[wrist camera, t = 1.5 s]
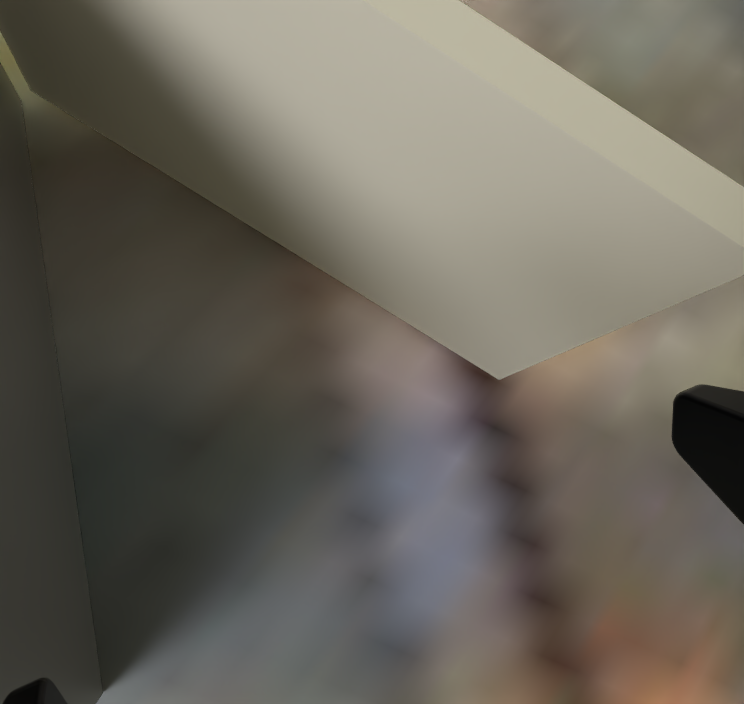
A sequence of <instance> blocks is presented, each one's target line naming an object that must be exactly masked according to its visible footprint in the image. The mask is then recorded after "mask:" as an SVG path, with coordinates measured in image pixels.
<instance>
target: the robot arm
mask: <svg viewBox="0 0 744 704" xmlns="http://www.w3.org/2000/svg"><path fill="white" fill-rule="evenodd" d="M672 441H673V445H674V447H675V449H676V450H677V452H678V453H679V455H680V456H681V457H682V458H683V459H684V460H685V461H686V462H687V464H688V465H689V466H690V467H691V468H692V469H693V470H694V471H695V472H696V473H697V474H698V476H699V477H700V478H701V479H702V480H703V481H704V482H705V483H706V484H707V485H708V486H709V488H710V489H711V490H712V491H713V492H714V493H715V494H716V495H717V496H718V497H719V498H720V499H721V501H722V502H723V503H724V504H725V505H726V506H727V507H728V508H729V509H730V510H731V511H732V513H733V514H734V515H735V516H736V517H737V518H738V519H739V520H740V521H741V522H742V523H743V524H744V392H743V391H738V390H732V389H727V388H721V387H715V386H710V385H696V386H694V387H692V388H689V389H687V390H685V391H683V392H680V393H679V394H677V395H676V397H675V399H674V402H673V419H672ZM2 704H68V703H67V702H66V700H65V699H64V697H63V696H62V694H61V693H60V691H59V690H58V688H57V687H56V685H55V684H54V683H53V681H51V680H50V679H49V678H46V677H43V678H39V679H37V680H34V681H32V682H30V683H28V684H26V685H23V686H21V687H19V688H17V689H14V690H13V691H11V692H10V693H9V694H8V695H7V697H6V698H5V700H4V701H3V703H2Z"/></svg>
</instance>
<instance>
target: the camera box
mask: <svg viewBox="0 0 744 704" xmlns="http://www.w3.org/2000/svg"><path fill="white" fill-rule="evenodd" d="M43 677H46V678H49V679H50V680H51V681H53V683H54V684H55V685H56V687H57V688H58V690H59V691H60V693H61V694H62V696H63V697H64V699H65V700H66V702H67V703H68V704H96V703H97V701H98V700H99V698H100V697H101V695H102V694H103V690H102V683H101V675H100V668H99V661H98V653H97V646H96V639H95V632H94V624H93V617H92V610H91V603H90V595H89V588H88V581H87V574H86V566H85V559H84V552H83V544H82V537H81V530H80V523H79V515H78V508H77V501H76V494H75V486H74V479H73V472H72V465H71V457H70V450H69V443H68V436H67V428H66V421H65V414H64V406H63V399H62V392H61V385H60V377H59V370H58V363H57V356H56V348H55V341H54V334H53V327H52V319H51V312H50V305H49V298H48V290H47V283H46V276H45V268H44V261H43V254H42V247H41V239H40V232H39V225H38V218H37V210H36V203H35V196H34V189H33V181H32V174H31V167H30V159H29V152H28V145H27V138H26V130H25V123H24V116H23V109H22V101H21V99H20V97H19V96H18V94H17V92H16V90H15V88H14V86H13V85H12V83H11V81H10V79H9V77H8V76H7V74H6V72H5V70H4V68H3V66H2V65H1V63H0V704H2V703H3V701H4V700H5V698H6V697H7V695H8V694H9V693H10V692H11V691H13V690H14V689H17V688H19V687H21V686H23V685H26V684H28V683H30V682H32V681H34V680H37V679H39V678H43Z"/></svg>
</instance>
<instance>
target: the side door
mask: <svg viewBox="0 0 744 704" xmlns="http://www.w3.org/2000/svg"><path fill="white" fill-rule="evenodd" d="M0 31H1V33H2V35H3V37H4V39H5V41H6V43H7V45H8V47H9V49H10V50H11V52H12V54H13V56H14V58H15V60H16V62H17V64H18V66H19V68H20V70H21V72H22V74H23V76H24V78H25V80H26V82H27V84H28V86H29V88H30V90H31V91H33V92H34V93H36V94H37V95H39V96H41V97H42V98H44V99H46V100H47V101H49V102H50V103H52V104H54V105H55V106H57V107H58V108H60V109H62V110H63V111H65V112H67V113H68V114H70V115H71V116H73V117H75V118H76V119H78V120H79V121H81V122H83V123H84V124H86V125H88V126H89V127H91V128H92V129H94V130H96V131H97V132H99V133H101V134H102V135H104V136H105V137H107V138H109V139H110V140H112V141H113V142H115V143H117V144H118V145H120V146H122V147H123V148H125V149H126V150H128V151H130V152H131V153H133V154H134V155H136V156H138V157H139V158H141V159H143V160H144V161H146V162H147V163H149V164H151V165H152V166H154V167H156V168H157V169H159V170H160V171H162V172H164V173H165V174H167V175H168V176H170V177H172V178H173V179H175V180H177V181H178V182H180V183H181V184H183V185H185V186H186V187H188V188H189V189H191V190H193V191H194V192H196V193H198V194H199V195H201V196H202V197H204V198H206V199H207V200H209V201H211V202H212V203H214V204H215V205H217V206H219V207H220V208H222V209H223V210H225V211H227V212H228V213H230V214H232V215H233V216H235V217H236V218H238V219H240V220H241V221H243V222H244V223H246V224H248V225H249V226H251V227H253V228H254V229H256V230H257V231H259V232H261V233H262V234H264V235H266V236H267V237H269V238H270V239H272V240H274V241H275V242H277V243H278V244H280V245H282V246H283V247H285V248H287V249H288V250H290V251H291V252H293V253H295V254H296V255H298V256H299V257H301V258H303V259H304V260H306V261H308V262H309V263H311V264H312V265H314V266H316V267H317V268H319V269H321V270H322V271H324V272H325V273H327V274H329V275H330V276H332V277H333V278H335V279H337V280H338V281H340V282H342V283H343V284H345V285H346V286H348V287H350V288H351V289H353V290H354V291H356V292H358V293H359V294H361V295H363V296H364V297H366V298H367V299H369V300H371V301H372V302H374V303H376V304H377V305H379V306H380V307H382V308H384V309H385V310H387V311H388V312H390V313H392V314H393V315H395V316H397V317H398V318H400V319H401V320H403V321H405V322H406V323H408V324H409V325H411V326H413V327H414V328H416V329H418V330H419V331H421V332H422V333H424V334H426V335H427V336H429V337H430V338H432V339H434V340H435V341H437V342H439V343H440V344H442V345H443V346H445V347H447V348H448V349H450V350H452V351H453V352H455V353H456V354H458V355H460V356H461V357H463V358H464V359H466V360H468V361H469V362H471V363H473V364H474V365H476V366H477V367H479V368H481V369H482V370H484V371H485V372H487V373H489V374H490V375H492V376H494V377H495V378H497V379H498V380H500V379H503V378H505V377H507V376H510V375H512V374H514V373H517V372H519V371H521V370H524V369H526V368H528V367H531V366H533V365H535V364H538V363H540V362H542V361H545V360H547V359H549V358H552V357H554V356H556V355H559V354H561V353H563V352H566V351H568V350H570V349H573V348H575V347H577V346H580V345H582V344H584V343H587V342H589V341H591V340H594V339H596V338H598V337H601V336H603V335H605V334H608V333H610V332H612V331H615V330H617V329H620V328H622V327H624V326H627V325H629V324H631V323H634V322H636V321H638V320H641V319H643V318H645V317H648V316H650V315H652V314H655V313H657V312H659V311H662V310H664V309H666V308H669V307H671V306H673V305H676V304H678V303H680V302H683V301H685V300H687V299H690V298H692V297H694V296H697V295H699V294H701V293H704V292H706V291H708V290H711V289H713V288H715V287H718V286H720V285H722V284H725V283H727V282H729V281H732V280H734V279H736V278H739V277H741V276H743V275H744V187H743V186H741V185H740V184H738V183H737V182H735V181H734V180H732V179H731V178H729V177H728V176H726V175H725V174H723V173H721V172H720V171H718V170H717V169H715V168H714V167H712V166H711V165H709V164H708V163H706V162H705V161H703V160H702V159H700V158H699V157H697V156H696V155H694V154H693V153H691V152H690V151H688V150H686V149H685V148H683V147H682V146H680V145H679V144H677V143H676V142H674V141H673V140H671V139H670V138H668V137H667V136H665V135H664V134H662V133H661V132H659V131H658V130H656V129H654V128H653V127H651V126H650V125H648V124H647V123H645V122H644V121H642V120H641V119H639V118H638V117H636V116H635V115H633V114H632V113H630V112H629V111H627V110H626V109H624V108H622V107H621V106H619V105H618V104H616V103H615V102H613V101H612V100H610V99H609V98H607V97H606V96H604V95H603V94H601V93H600V92H598V91H597V90H595V89H594V88H592V87H590V86H589V85H587V84H586V83H584V82H583V81H581V80H580V79H578V78H577V77H575V76H574V75H572V74H571V73H569V72H568V71H566V70H565V69H563V68H562V67H560V66H559V65H557V64H555V63H554V62H552V61H551V60H549V59H548V58H546V57H545V56H543V55H542V54H540V53H539V52H537V51H536V50H534V49H533V48H531V47H530V46H528V45H527V44H525V43H523V42H522V41H520V40H519V39H517V38H516V37H514V36H513V35H511V34H510V33H508V32H507V31H505V30H504V29H502V28H501V27H499V26H498V25H496V24H495V23H493V22H491V21H490V20H488V19H487V18H485V17H484V16H482V15H481V14H479V13H478V12H476V11H475V10H473V9H472V8H470V7H469V6H467V5H466V4H464V3H463V2H461V1H459V0H0Z"/></svg>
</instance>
